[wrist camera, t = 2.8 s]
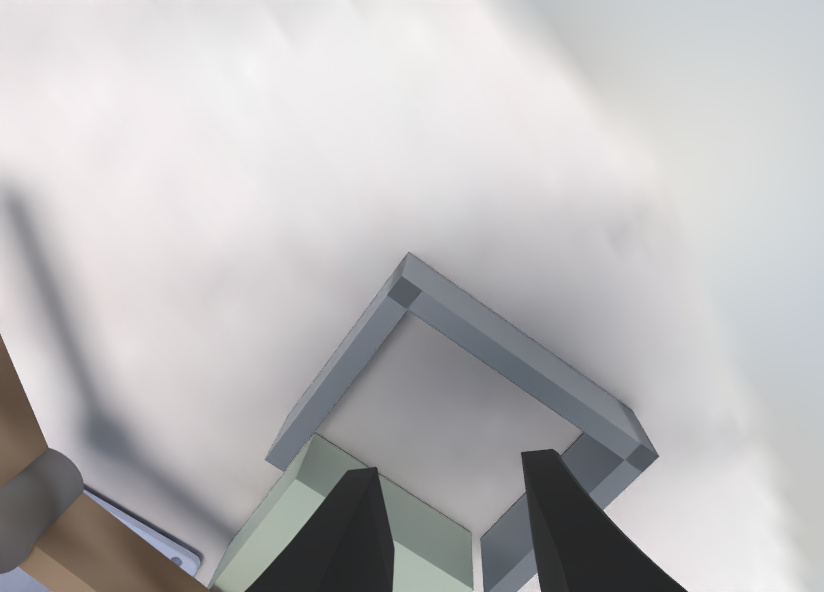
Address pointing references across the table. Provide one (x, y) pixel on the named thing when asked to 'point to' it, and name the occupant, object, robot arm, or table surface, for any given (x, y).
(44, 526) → the flipper lever
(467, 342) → the tray
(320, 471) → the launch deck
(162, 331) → the table surface
